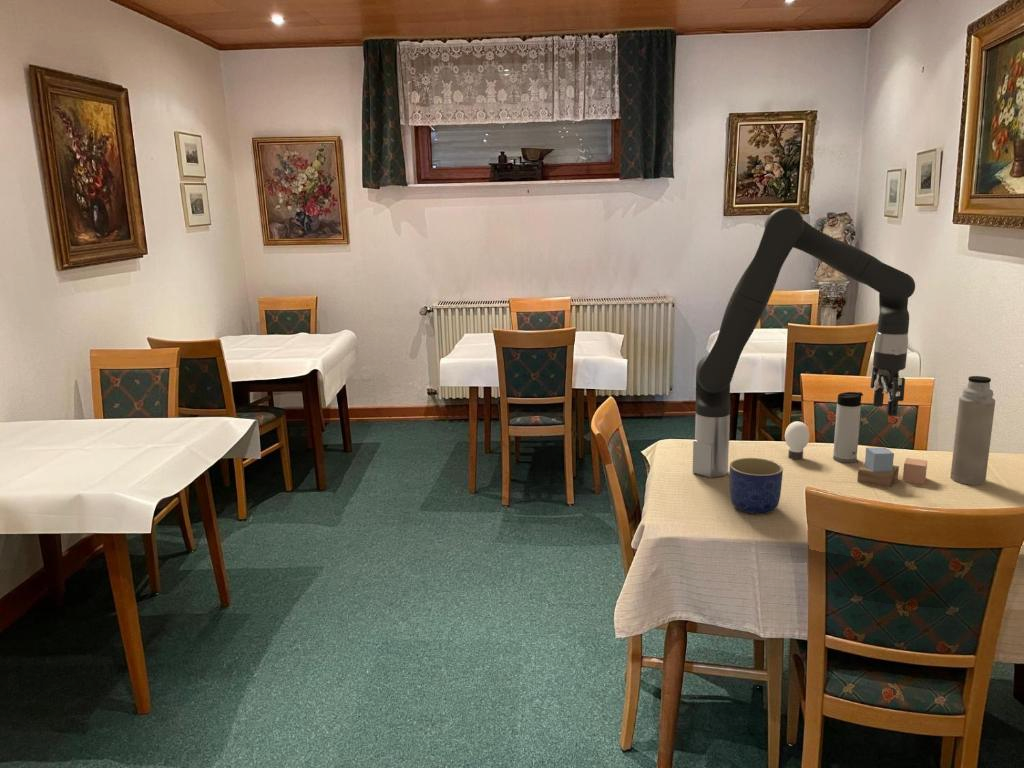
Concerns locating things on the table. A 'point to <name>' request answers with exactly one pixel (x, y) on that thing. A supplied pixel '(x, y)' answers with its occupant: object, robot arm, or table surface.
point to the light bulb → (796, 439)
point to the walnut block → (878, 476)
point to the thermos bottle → (973, 432)
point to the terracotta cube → (915, 470)
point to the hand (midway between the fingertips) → (884, 410)
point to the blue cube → (879, 459)
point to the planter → (755, 485)
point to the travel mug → (847, 427)
